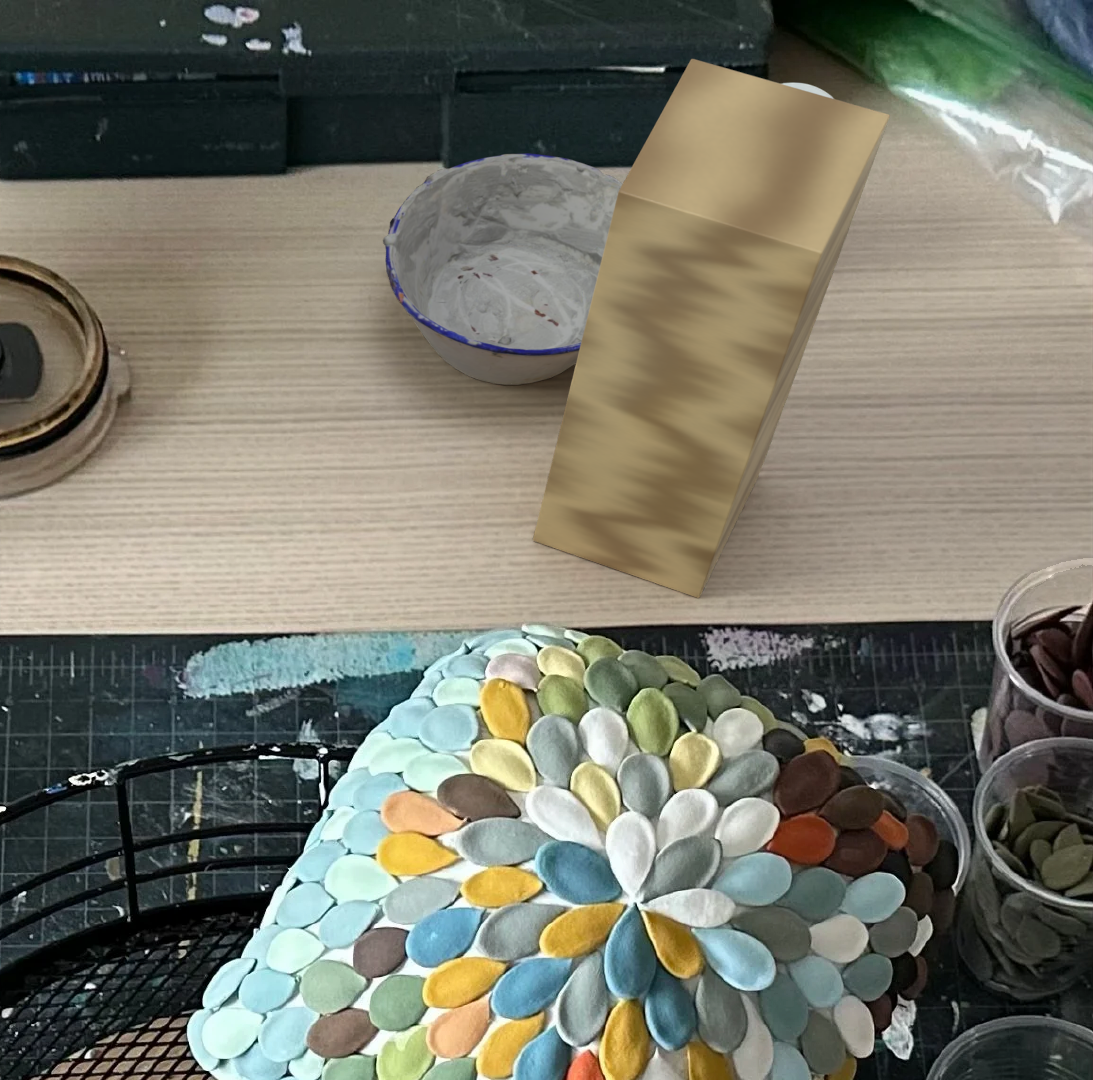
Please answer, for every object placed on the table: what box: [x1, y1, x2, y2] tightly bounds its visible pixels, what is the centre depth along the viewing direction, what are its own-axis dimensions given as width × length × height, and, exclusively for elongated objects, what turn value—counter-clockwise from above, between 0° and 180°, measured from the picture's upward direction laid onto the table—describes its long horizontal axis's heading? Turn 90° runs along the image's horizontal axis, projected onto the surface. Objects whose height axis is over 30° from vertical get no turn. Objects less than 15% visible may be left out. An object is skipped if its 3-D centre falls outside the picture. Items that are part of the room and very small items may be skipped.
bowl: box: [382, 152, 623, 386], centre depth 109 cm, size 13×13×5 cm
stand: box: [532, 58, 891, 599], centre depth 97 cm, size 8×8×20 cm
